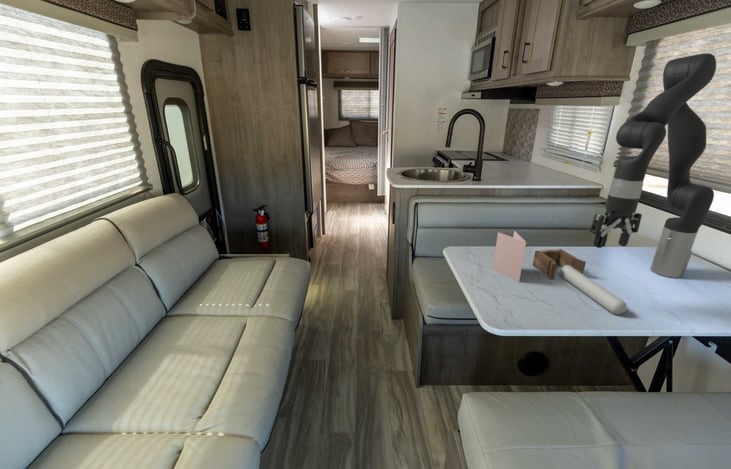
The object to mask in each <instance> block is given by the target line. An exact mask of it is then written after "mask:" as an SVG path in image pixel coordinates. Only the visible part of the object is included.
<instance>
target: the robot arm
mask: <svg viewBox="0 0 731 469" xmlns="http://www.w3.org/2000/svg"><path fill="white" fill-rule="evenodd" d="M716 70H717V59H716V56H715V55H714V54H712V53H708V52H707V53H698V54H693V55H687V56H682V57H677V58H673V59H671V60H668V61H667V63H666V64H665V66H664V69H663V73H662V82H663V91H662V92H661V93H659V94H657V95H656V96H654V98H653V99H651V100H650V101H649V103H648V104H647V105H646V106H645V107H644V109H643V110H642V111H640V112H638V113H637V114H635V115H634V116H632V117H630V118H629V119H627V120H626V121H625V122H624V123H623V124H622V125H621V126H619V129H618V130H617V133H616V135H615V141H616V143H617V144H618V145H619V146H620V147H622V148H625V149H627V148H628V149H639V150H641V151H640V153H639V154H638V155H634V156H624V157H620V158H619V159H618V161H617V163H616V168H615V171H614V174H613V179H612V181H611V183H610V186H609V190H608V193H607V198H606V202H605V206H604V208H605V209H606V211H605V213H604V214H602V213H601V214H600V213H598V212H597V213H595V214H594V216H593V220H592V224H591V226H590V230H589V232H590V233H592V234H594V235H595V237H594V241H593V246H594V247H596V248H598V249H600V248H601V249H602V247H603V243H604V241H605V236H606V235H607V234H608V233H609V232H611V231H612V230H613V229H614V230H615V229H620V230H621V233H620V236H619V240H618V245H619V246H621V247H627V245H628V243H629V240H630V237H631V236H632V234H637V233H638V232H639V229H640V224H641V220H642V217H643V215H642V213H640V212H637V208H638V205H639V201H640V198H641V196H642V191H643V187H644V180H645V178H646V174H647V171H648V167H649V165H650V163H651V161H652V159H653V158H654V155H655V154H656V152H657V151H658V149H659V147H661V145H662V143H663V142H664V140H665V139H666V138H665V137H666V135H667V149H668V179H667V180H668V181H667V190H666V192H667V193H666V199H667V204H669V206H671V207H672V208H676V209H679V210H682V211H684V212H683V213H682V215H681V217H676V216H675V217H669V218H667V219H666V220H665V222H664V225H663V228H662V230H661V233H660V234H661V235H660V237H659V240H658V244H657V246H656V249H655V253H654V255H653V258H652V262H651V265H650V268H649V269H650V271H651V272H653V273H655V274H656V275H659V276H663V277H665V278H666V277H667V278H673V279H677V278H682V277H683V276H684V275H685V272H686V270H687V267H688V264H689V262H690V259H691V256H692V254H693V251H692V249H693V246H694V243H695V240H696V238H697V236H698V233H699V230H700V228H701V227H702V226H703V224H704V222H705V219H706V218H707V215H708V213H709V210H710V209H711V206H712V204H713V201H714V197H715V192H714V189H712V187H709V186H706V185H701V184H697V183H692V182H691V178H690V176H691V175H690V174H691V168H693V166H694V164H695V163H696V162H697V160H698V159H699V158H700V157H701V156H702V154H704V152H705V150H706V147H707V126H706V124H705V122H704V121H703V120H702V118H701V117H700V116H699V115H698V114H697V113H696V112H695V111H694V110H693V109H692V108H691V107H690V106H689V104H688V103H687V102H688V101H689V100H691V99H692V98H693V97H694V96H696V95H697V94H698V93H699V92H700V91H702V90H703V89H704V88H705V87H706V86H707V85H709V84H710V83H711V81H712V80H713V78H714V76H715V74H716ZM666 126H667V129H666Z"/></svg>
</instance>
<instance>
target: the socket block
mask: <svg viewBox="0 0 731 469" xmlns="http://www.w3.org/2000/svg"><path fill="white" fill-rule="evenodd" d="M586 263H587V261H585V260H582V259H579V258H578V257H576V256H574V255H572V254H570V253H569V252H567V251H566V250H564V249H561V248H557V249H556V248H555V249H545V250H544V249H543V250H535V251H534V256H533V260H532V266H533V267H534V268H535V269H537V270H539V271H540V272H542V273H543V274H545V275H546V276H547V277H548V280H551V281H552V280H554V279H555V278H554V277H555V274H556V269H557V266H558V267H560V268H561V269H562V268H563V267H564V266H565V265H570V266H572V267H573V268H574V269H575V270H577V271H578V272H580V273H581V274H583V275H584V271H585V267H586Z"/></svg>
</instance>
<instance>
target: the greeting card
mask: <svg viewBox="0 0 731 469" xmlns="http://www.w3.org/2000/svg"><path fill="white" fill-rule="evenodd" d="M527 246H528V244H527V242H526V240H525V239H524V238H523V237H522V236H521V235H519V233H517V231H515V230H514V231H513V235H512V236H510V235H507V234H505V233H501V232H497V236H496V243H495V250H494V255H493V256H494V258H493V262H492V263H493V264H492V271H494V272H496V273H499V274H501V275H503V276H505V277H507V278H509V279H511V280H514V281H516V282H519V283H520V279H521V273H522V269H523V263H524V256H525V251H526V248H527Z"/></svg>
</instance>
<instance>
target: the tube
mask: <svg viewBox="0 0 731 469" xmlns="http://www.w3.org/2000/svg"><path fill="white" fill-rule="evenodd" d="M558 274H559V275H558V276H559V277H560V278H562V279H564V280H566V281H567V282H568V283H570V284H572V285H573V287H575V288H577V289H578V290H580V291H581V292H582V293H584V294H585V295H586V296H587V297H589V298H591V299H592V300H594V301H595V302H596V303H598V304H599V305H601V306H602V307H603V308H604V309H606V310H607V311H609V312H610V313H611V314H614V315H617V316H619V315H622V314H624V313H626V312H627V303H626V302H625V301H624V300H622V299H621V298H619V297H618V296H617V295H615V294H614V293H612V292H610V291H609V290H607V289H605V287H602V286H601V285H600V284H599V283H597V282H595V281H594V280H592V279H591V278H589V277H588V276H586V275H584V273H583V274H581V273H580V272H578V271H577V270H575V269H574V268H573V267H572V266H570V265H565V266H564V267H563V268H561V269H560V270H559V273H558Z"/></svg>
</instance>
